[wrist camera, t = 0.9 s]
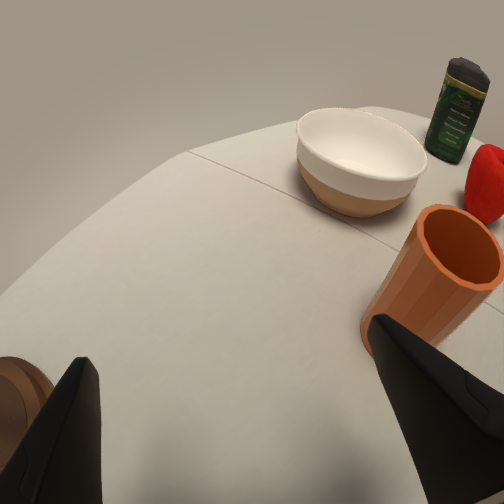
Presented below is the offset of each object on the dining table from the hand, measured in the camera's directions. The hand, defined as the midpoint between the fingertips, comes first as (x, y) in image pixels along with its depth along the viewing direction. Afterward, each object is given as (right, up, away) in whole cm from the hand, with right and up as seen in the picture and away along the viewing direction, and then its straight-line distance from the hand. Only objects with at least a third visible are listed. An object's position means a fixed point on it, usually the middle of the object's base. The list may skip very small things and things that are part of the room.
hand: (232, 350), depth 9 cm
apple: (+34, +9, +29) cm, 45 cm away
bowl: (+13, +11, +30) cm, 35 cm away
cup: (+14, -5, +17) cm, 23 cm away
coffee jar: (+36, +22, +40) cm, 58 cm away
